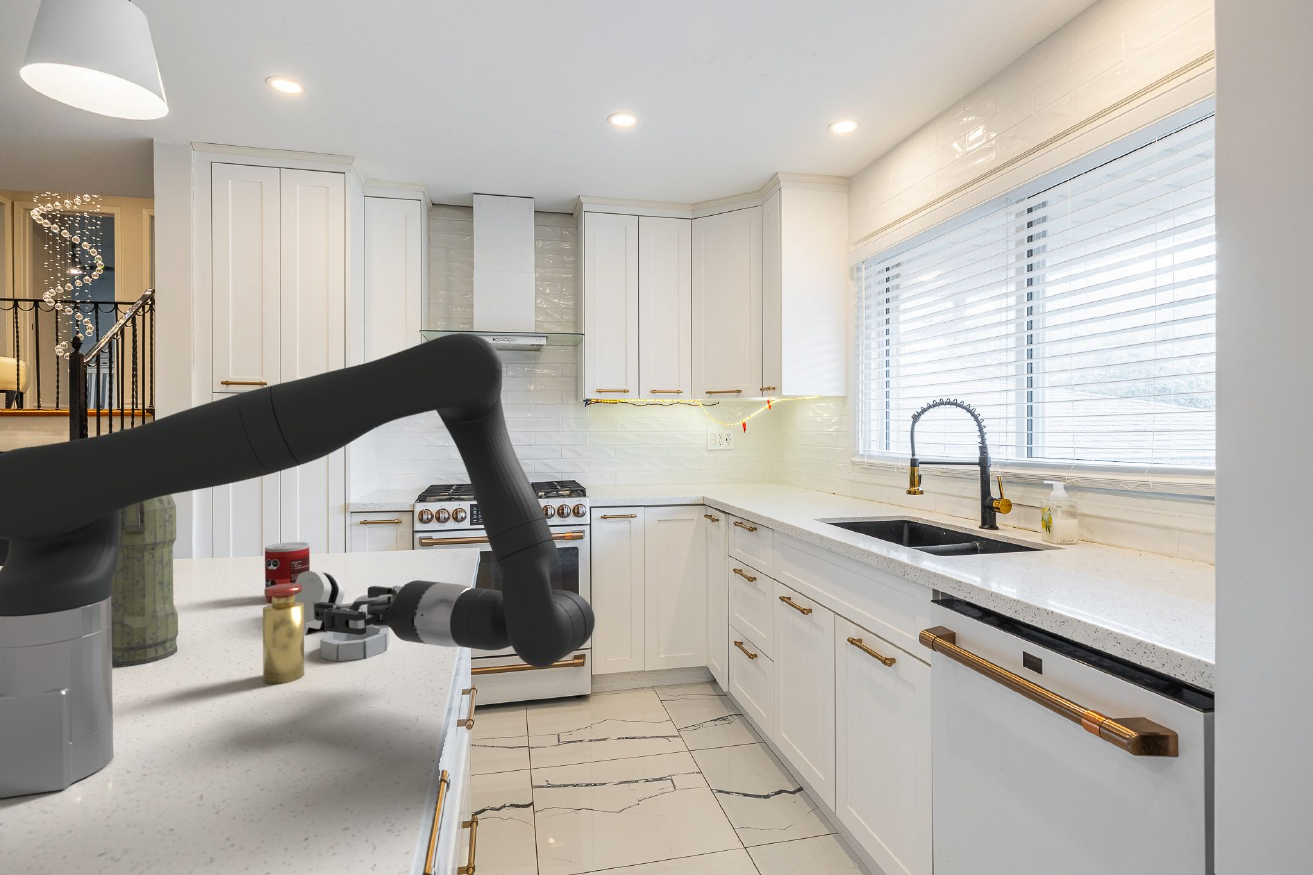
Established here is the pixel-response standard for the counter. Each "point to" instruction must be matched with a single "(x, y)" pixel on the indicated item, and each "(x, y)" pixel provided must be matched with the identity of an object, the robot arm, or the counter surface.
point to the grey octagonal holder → (354, 643)
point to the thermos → (144, 584)
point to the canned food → (285, 563)
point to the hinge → (317, 594)
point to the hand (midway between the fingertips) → (344, 602)
